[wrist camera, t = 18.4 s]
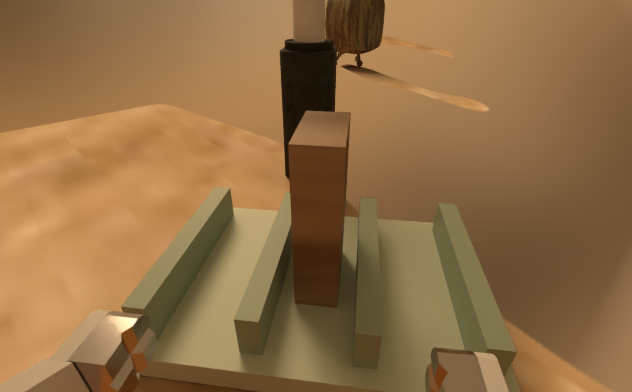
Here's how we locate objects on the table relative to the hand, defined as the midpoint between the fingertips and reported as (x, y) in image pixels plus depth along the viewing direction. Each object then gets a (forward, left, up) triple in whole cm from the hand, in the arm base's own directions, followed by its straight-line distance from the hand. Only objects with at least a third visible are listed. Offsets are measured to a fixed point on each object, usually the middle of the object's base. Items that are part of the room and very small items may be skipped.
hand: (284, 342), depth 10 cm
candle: (-17, +23, -9) cm, 30 cm away
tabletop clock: (-48, +82, -9) cm, 95 cm away
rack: (-5, +9, -9) cm, 13 cm away
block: (-5, +9, -7) cm, 12 cm away
